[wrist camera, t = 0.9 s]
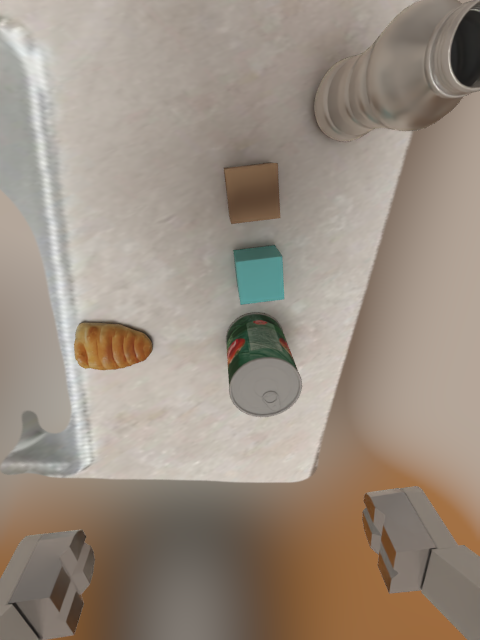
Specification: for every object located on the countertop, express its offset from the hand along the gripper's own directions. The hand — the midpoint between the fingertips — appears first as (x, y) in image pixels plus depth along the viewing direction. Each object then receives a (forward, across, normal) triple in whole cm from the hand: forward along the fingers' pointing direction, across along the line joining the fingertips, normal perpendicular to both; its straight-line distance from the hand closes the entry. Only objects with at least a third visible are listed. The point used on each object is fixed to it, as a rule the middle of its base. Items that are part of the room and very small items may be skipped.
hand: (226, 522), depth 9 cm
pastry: (+34, +16, +10) cm, 38 cm away
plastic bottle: (+33, -14, -14) cm, 38 cm away
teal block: (+33, -4, +2) cm, 33 cm away
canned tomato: (+33, -3, +12) cm, 36 cm away
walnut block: (+33, -4, -7) cm, 34 cm away
